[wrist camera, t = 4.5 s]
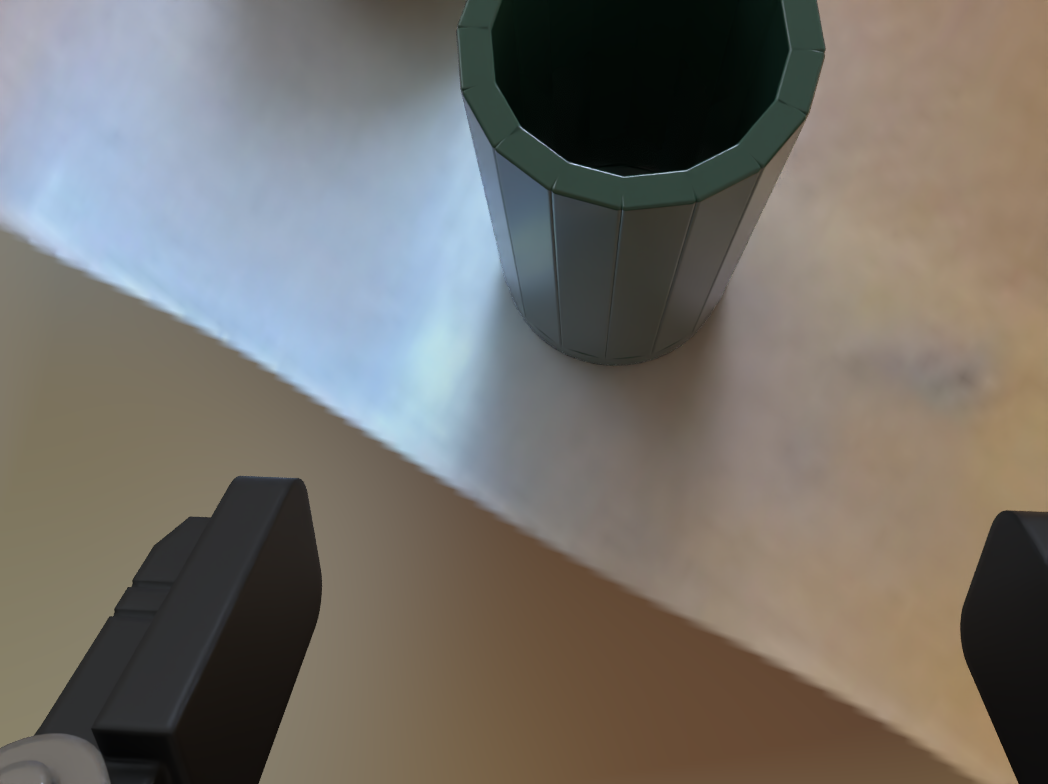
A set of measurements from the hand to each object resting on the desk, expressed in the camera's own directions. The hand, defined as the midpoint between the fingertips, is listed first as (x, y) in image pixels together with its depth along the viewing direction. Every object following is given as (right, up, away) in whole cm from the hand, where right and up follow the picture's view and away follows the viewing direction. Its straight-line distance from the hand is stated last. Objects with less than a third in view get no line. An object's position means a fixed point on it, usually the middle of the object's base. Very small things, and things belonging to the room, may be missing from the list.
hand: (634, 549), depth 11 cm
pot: (+1, +5, +14) cm, 15 cm away
